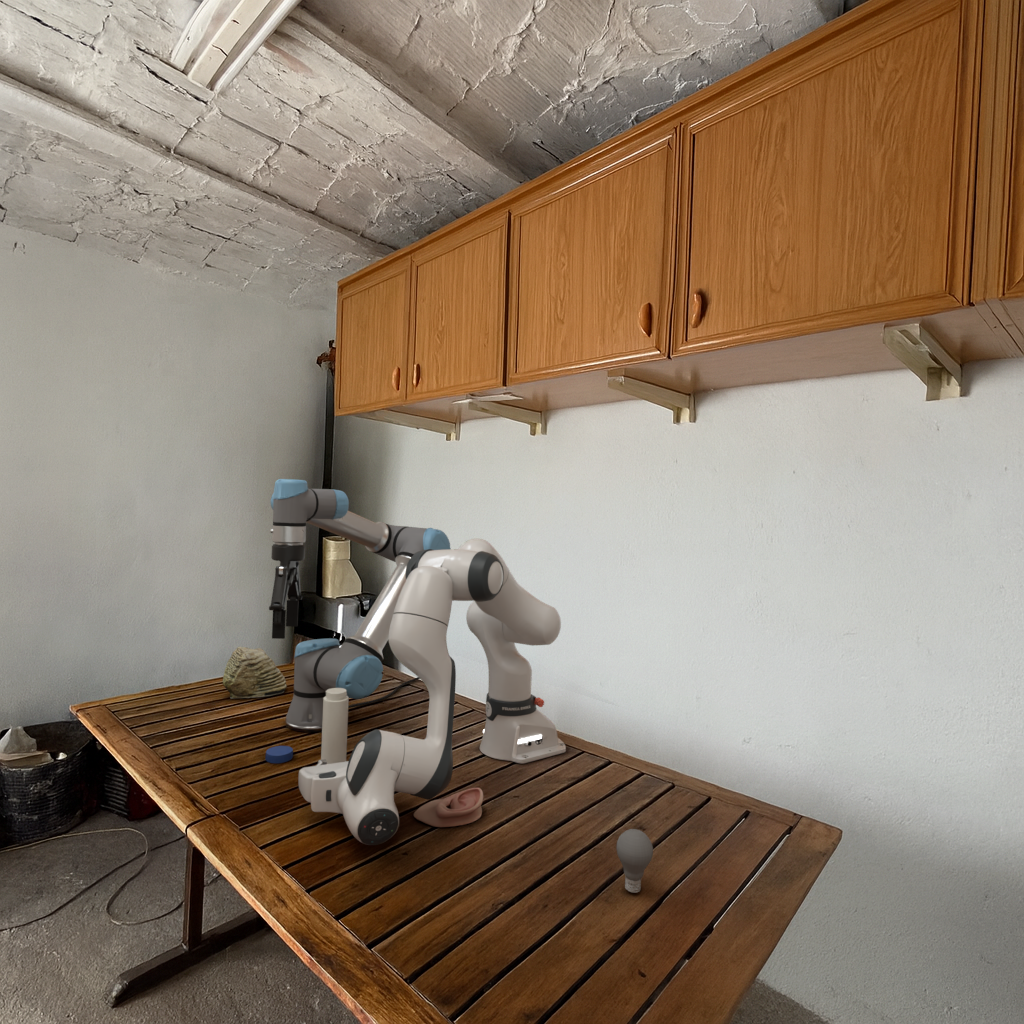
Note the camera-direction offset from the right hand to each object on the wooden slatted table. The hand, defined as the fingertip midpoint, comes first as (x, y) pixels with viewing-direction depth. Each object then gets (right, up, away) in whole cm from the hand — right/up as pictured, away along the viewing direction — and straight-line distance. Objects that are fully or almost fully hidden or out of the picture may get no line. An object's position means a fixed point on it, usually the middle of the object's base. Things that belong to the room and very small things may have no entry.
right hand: (344, 759), depth 134 cm
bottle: (-5, -7, +10) cm, 13 cm away
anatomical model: (+23, -9, -6) cm, 25 cm away
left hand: (-19, +24, +17) cm, 35 cm away
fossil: (-45, -5, +64) cm, 78 cm away
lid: (-20, -5, +18) cm, 27 cm away
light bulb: (+56, -11, -29) cm, 63 cm away
